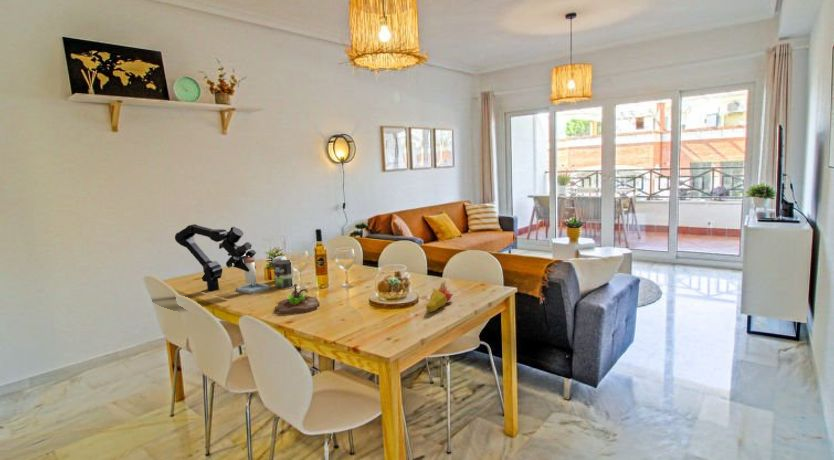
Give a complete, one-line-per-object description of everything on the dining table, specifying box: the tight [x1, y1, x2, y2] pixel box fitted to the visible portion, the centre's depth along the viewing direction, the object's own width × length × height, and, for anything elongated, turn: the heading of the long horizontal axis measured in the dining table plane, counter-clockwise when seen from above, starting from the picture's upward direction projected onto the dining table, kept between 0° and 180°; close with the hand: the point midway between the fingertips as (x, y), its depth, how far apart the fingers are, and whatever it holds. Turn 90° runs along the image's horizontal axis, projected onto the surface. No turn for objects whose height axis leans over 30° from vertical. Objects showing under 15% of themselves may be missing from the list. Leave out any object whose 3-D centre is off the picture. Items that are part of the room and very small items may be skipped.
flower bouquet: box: [425, 279, 454, 313], centre depth 206 cm, size 8×8×25 cm
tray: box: [235, 282, 272, 295], centre depth 248 cm, size 14×12×2 cm
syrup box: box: [272, 255, 288, 268], centre depth 262 cm, size 6×6×14 cm
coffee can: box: [272, 259, 295, 291], centre depth 251 cm, size 10×10×14 cm
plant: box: [274, 283, 320, 315], centre depth 215 cm, size 20×20×11 cm
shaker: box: [243, 257, 257, 284], centre depth 242 cm, size 5×5×12 cm
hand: (252, 269), depth 242 cm, fingers closed on shaker, 5 cm apart
